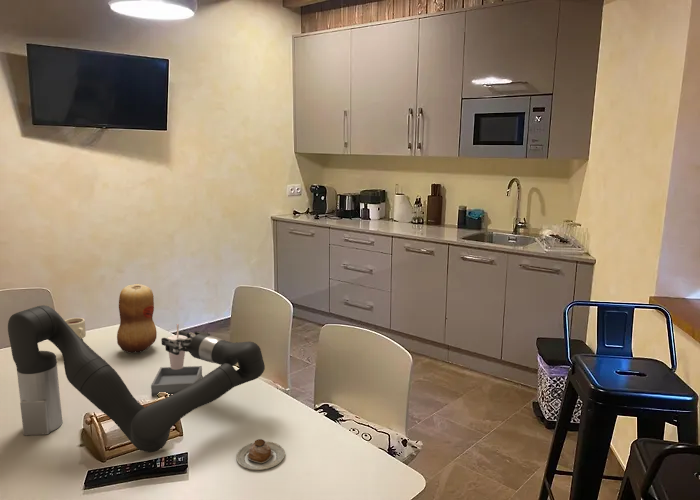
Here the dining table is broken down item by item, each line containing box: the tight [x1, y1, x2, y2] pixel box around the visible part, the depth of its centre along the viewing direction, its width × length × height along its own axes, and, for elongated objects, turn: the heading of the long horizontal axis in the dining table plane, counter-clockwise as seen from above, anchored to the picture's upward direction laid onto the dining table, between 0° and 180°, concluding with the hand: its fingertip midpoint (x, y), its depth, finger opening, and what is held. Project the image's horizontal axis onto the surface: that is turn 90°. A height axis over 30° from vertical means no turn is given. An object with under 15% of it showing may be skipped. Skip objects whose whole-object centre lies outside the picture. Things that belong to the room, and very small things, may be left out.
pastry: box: [235, 438, 286, 471], centre depth 133 cm, size 12×12×5 cm
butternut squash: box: [116, 283, 158, 354], centre depth 195 cm, size 14×13×25 cm
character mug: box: [64, 317, 87, 341], centre depth 192 cm, size 11×7×13 cm, turn 56°
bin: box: [150, 365, 203, 397], centre depth 171 cm, size 13×13×4 cm
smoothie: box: [166, 323, 187, 370], centre depth 168 cm, size 6×6×14 cm
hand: (171, 337), depth 169 cm, fingers closed on smoothie, 6 cm apart
